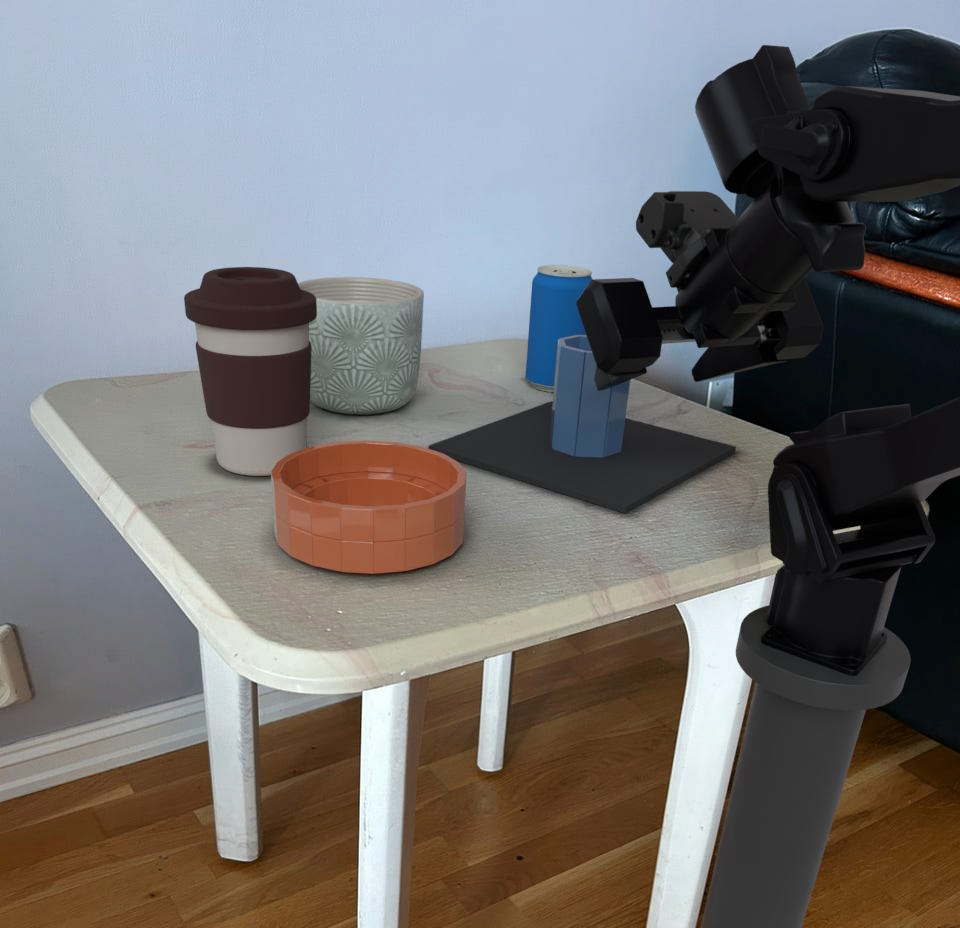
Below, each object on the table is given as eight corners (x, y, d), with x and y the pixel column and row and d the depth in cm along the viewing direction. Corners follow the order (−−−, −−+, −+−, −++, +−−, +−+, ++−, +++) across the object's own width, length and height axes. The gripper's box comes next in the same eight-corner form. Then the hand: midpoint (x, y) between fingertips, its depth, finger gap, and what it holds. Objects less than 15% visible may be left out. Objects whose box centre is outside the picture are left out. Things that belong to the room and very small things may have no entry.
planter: (441, 416, 95) (444, 299, 90) (318, 428, 90) (313, 305, 85) (395, 382, 105) (395, 274, 100) (281, 391, 100) (275, 278, 95)
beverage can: (585, 380, 109) (597, 266, 103) (583, 396, 104) (595, 277, 98) (527, 375, 110) (535, 262, 104) (522, 391, 104) (530, 272, 98)
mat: (735, 452, 90) (736, 446, 90) (625, 513, 76) (626, 506, 76) (554, 405, 100) (554, 399, 100) (428, 451, 86) (428, 445, 86)
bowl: (500, 537, 71) (504, 472, 69) (375, 600, 62) (375, 526, 59) (366, 490, 78) (365, 428, 75) (236, 540, 69) (230, 471, 66)
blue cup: (624, 458, 85) (637, 354, 81) (553, 456, 85) (563, 351, 81) (614, 436, 91) (626, 336, 86) (547, 433, 91) (556, 333, 86)
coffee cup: (340, 474, 81) (335, 282, 73) (221, 491, 76) (203, 289, 69) (297, 437, 88) (288, 260, 80) (186, 451, 84) (166, 265, 76)
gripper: (831, 153, 69) (710, 287, 83) (605, 148, 62) (514, 296, 76) (887, 291, 67) (752, 405, 81) (660, 303, 60) (555, 426, 74)
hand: (647, 380), depth 78 cm, fingers open, 9 cm apart
